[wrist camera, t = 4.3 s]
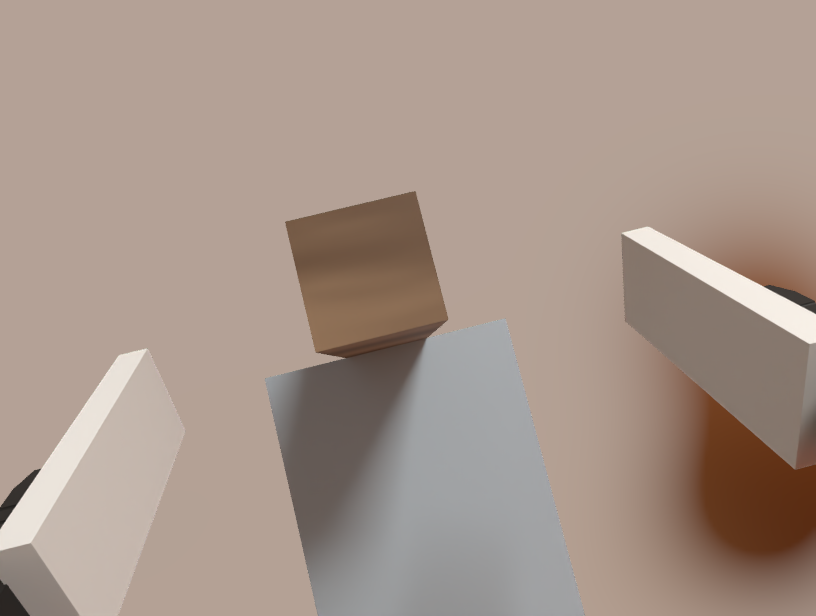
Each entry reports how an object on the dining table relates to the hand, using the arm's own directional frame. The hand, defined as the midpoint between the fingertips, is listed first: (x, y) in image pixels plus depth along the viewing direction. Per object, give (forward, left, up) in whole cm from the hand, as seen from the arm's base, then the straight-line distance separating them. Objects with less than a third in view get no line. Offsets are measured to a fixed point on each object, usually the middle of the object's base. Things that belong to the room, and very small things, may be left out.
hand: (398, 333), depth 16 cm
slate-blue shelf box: (-15, +14, -30) cm, 36 cm away
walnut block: (-10, +10, 0) cm, 14 cm away
